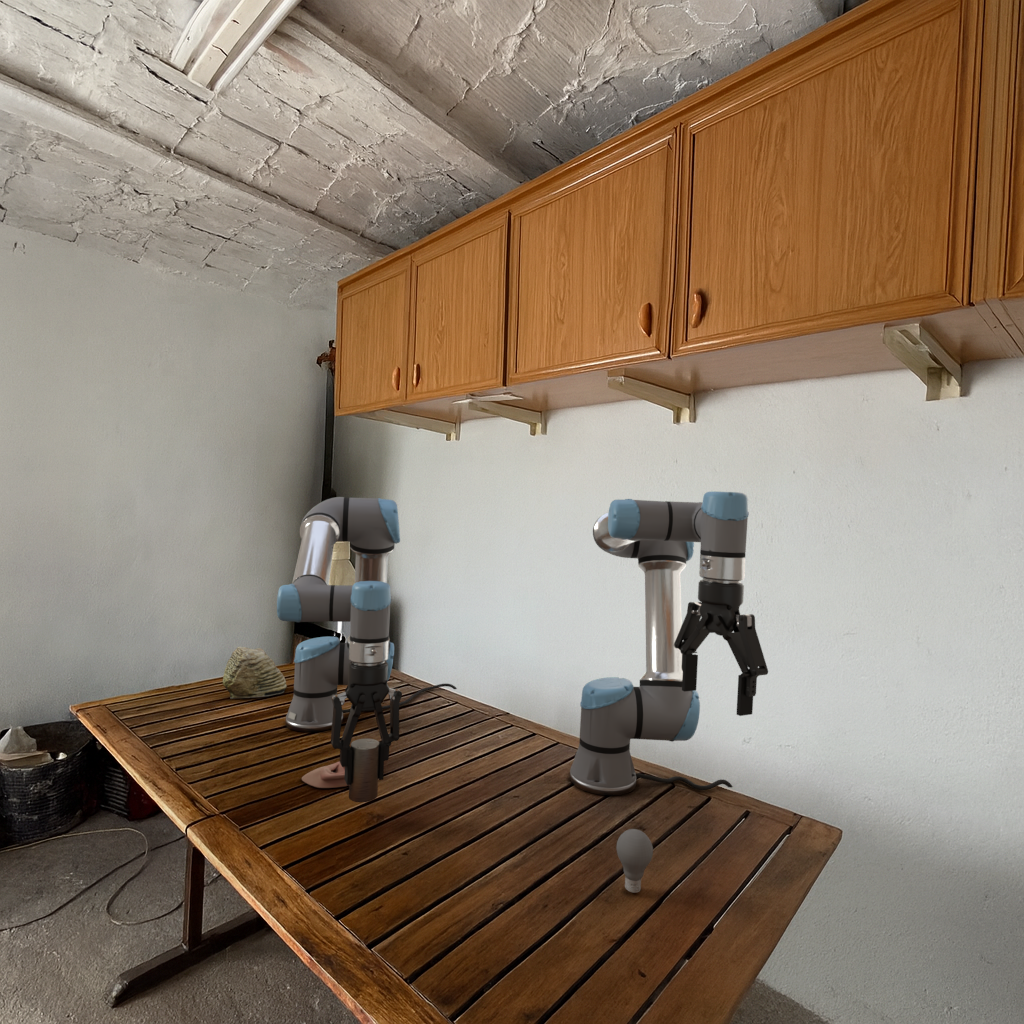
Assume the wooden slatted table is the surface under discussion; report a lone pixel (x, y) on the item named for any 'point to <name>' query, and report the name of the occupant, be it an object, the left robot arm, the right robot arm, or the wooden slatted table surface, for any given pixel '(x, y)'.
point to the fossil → (252, 674)
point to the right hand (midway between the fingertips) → (715, 701)
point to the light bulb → (634, 857)
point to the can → (364, 770)
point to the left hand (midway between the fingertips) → (363, 779)
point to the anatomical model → (326, 776)
